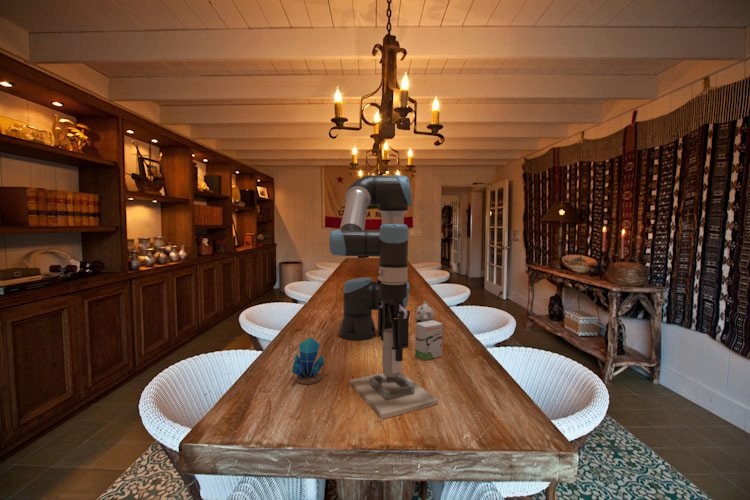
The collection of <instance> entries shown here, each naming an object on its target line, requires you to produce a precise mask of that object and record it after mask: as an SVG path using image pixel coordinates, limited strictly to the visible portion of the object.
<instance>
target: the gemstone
mask: <svg viewBox="0 0 750 500" xmlns="http://www.w3.org/2000/svg"><path fill="white" fill-rule="evenodd" d="M298 345H299V355H298V354H297V353H296V354H295V357H294V358H295V359H294V361H293V364H292V371H291V373H292V374H294V375H296V376H295V380H296V382H297V383H299V384H301V385H308V386H309V385H313V384H317V383H319V382H320V381H321V380H322V379H321V378H322V374H320V373H319V371H320V370H322V367H323V366H324V364H325V362H324V354H322V355H320V356H319V357H318V358H317V356H318V353H319V349H320V345H321V344H320V343H318V342H317V341H316V340H315V339H313V338H312V336H311V337H308V338H306V339H305V340H304V341H302V342H301V343H299V344H298ZM316 359H317V360H316Z"/></svg>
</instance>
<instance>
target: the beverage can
mask: <svg viewBox="0 0 750 500" xmlns="http://www.w3.org/2000/svg"><path fill="white" fill-rule="evenodd" d="M392 347H394V341H393V332H392V328H387V329H385V330H384V332H383V365H382V373H383V374H384V375H385V376H387V377H397V376H399V375H400V373H401V372H398V373H392Z"/></svg>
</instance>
